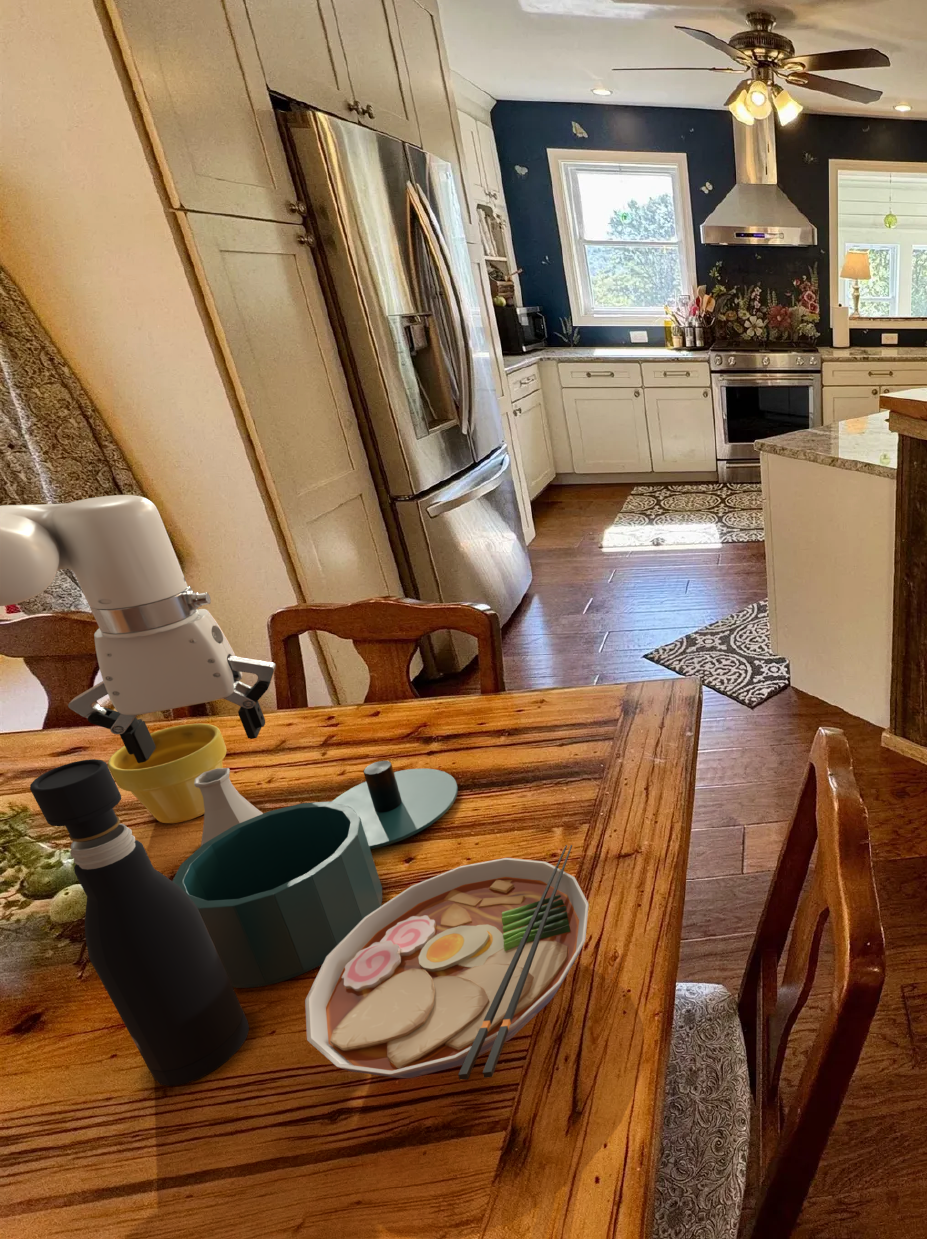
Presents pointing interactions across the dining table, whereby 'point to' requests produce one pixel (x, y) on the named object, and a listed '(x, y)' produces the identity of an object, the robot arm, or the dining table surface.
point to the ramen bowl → (448, 969)
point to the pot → (282, 889)
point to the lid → (399, 801)
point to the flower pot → (171, 770)
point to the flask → (222, 803)
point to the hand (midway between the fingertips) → (203, 744)
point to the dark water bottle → (143, 933)
